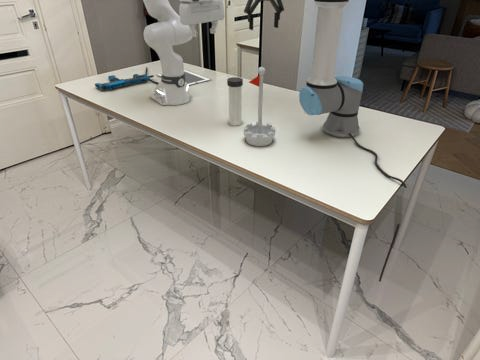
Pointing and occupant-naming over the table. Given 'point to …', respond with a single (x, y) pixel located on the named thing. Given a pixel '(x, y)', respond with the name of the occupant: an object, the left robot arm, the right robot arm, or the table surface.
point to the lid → (235, 82)
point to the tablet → (192, 78)
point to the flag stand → (259, 119)
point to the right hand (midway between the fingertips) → (263, 28)
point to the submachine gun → (122, 81)
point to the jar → (235, 105)
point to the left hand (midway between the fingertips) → (204, 34)
